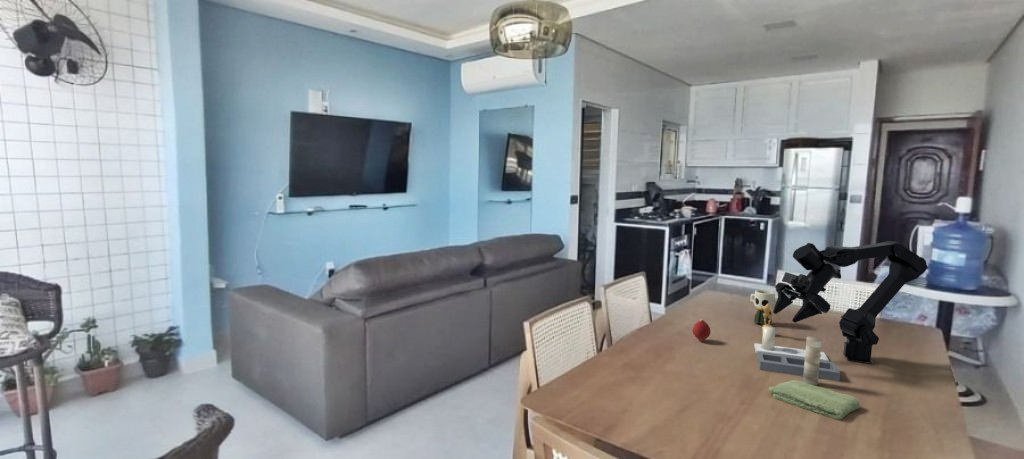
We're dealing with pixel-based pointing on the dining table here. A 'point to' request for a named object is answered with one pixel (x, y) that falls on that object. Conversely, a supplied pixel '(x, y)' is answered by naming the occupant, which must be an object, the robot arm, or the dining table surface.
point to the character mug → (763, 304)
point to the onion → (701, 330)
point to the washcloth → (815, 399)
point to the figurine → (766, 310)
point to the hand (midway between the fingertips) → (783, 317)
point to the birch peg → (812, 360)
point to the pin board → (795, 365)
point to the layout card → (769, 346)
